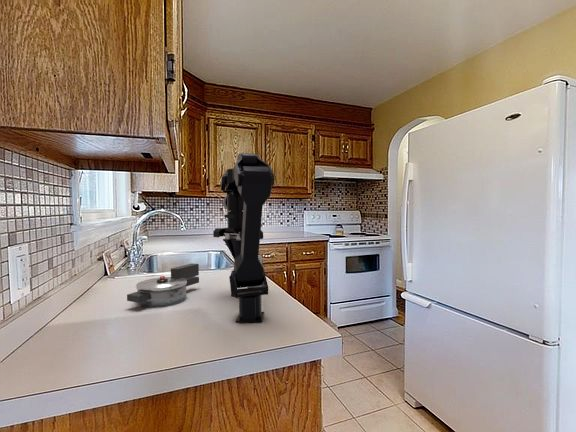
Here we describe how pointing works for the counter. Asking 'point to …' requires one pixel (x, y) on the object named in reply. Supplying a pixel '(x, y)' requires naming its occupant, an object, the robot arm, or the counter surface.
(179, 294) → the grey round flat pan
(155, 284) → the lid
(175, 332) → the counter surface
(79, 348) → the counter surface
